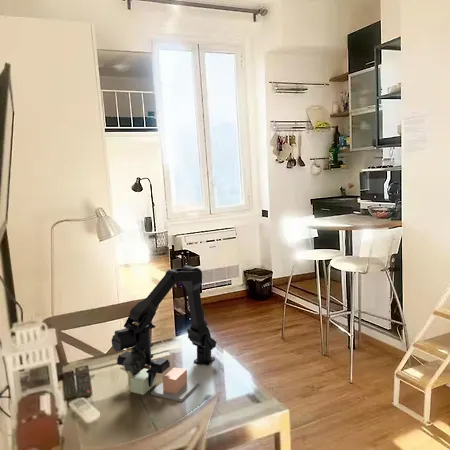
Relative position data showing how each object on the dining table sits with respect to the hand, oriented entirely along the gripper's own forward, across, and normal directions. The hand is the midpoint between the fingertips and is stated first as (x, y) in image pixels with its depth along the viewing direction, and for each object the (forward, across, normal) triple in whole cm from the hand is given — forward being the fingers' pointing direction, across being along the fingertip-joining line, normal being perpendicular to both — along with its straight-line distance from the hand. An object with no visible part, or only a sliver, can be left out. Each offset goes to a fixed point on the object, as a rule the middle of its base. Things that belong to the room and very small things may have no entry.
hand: (144, 384), depth 153 cm
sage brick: (+1, 0, 0) cm, 1 cm away
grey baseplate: (+1, +11, +3) cm, 11 cm away
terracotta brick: (0, +11, +3) cm, 11 cm away
